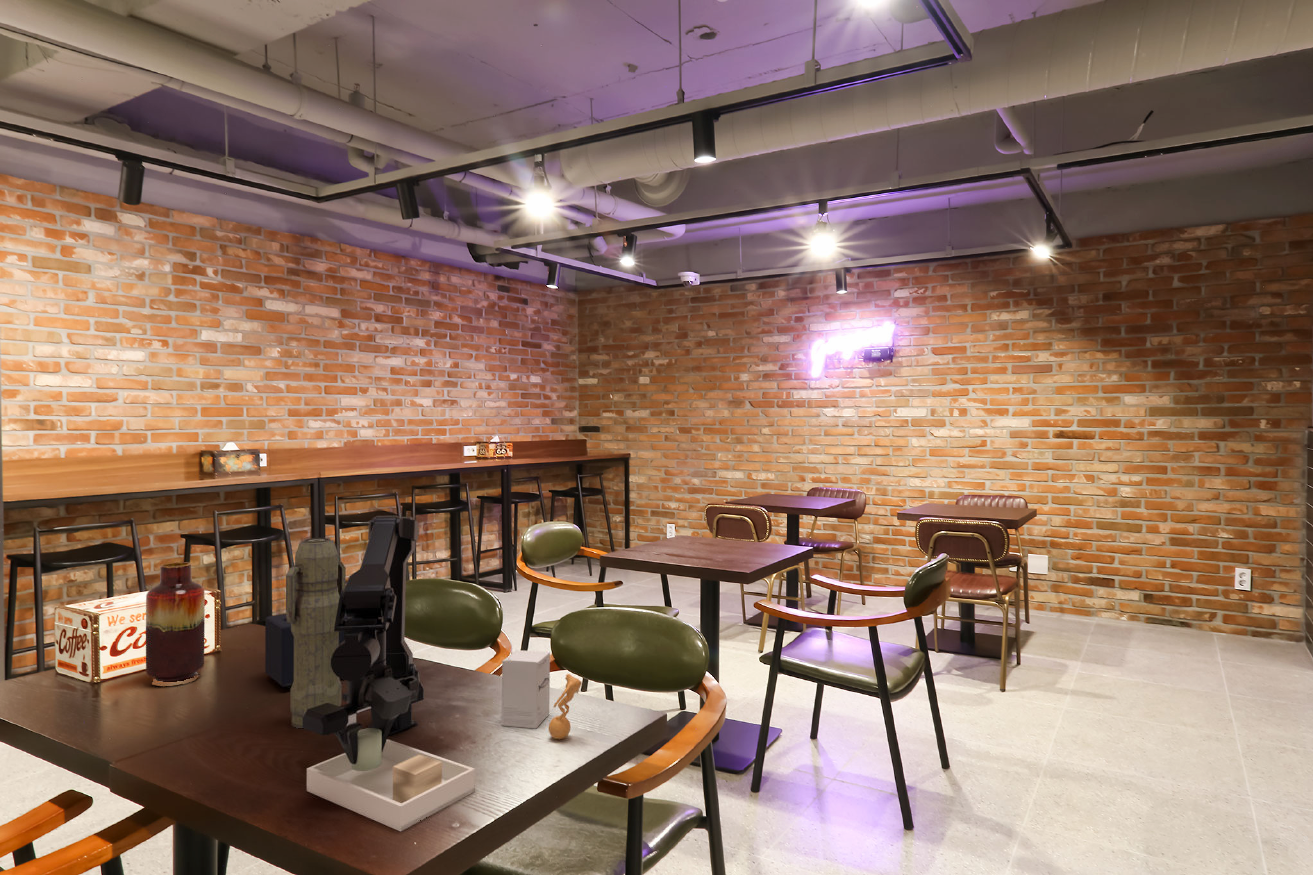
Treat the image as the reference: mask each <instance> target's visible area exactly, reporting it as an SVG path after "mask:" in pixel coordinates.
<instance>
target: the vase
mask: <svg viewBox="0 0 1313 875" xmlns="http://www.w3.org/2000/svg"><path fill="white" fill-rule="evenodd" d="M159 571H160V572H159V573H160V574H159V575H160V576H159V583H158V584H156V585H154V586H152V587H151V588H150V589H149V590H148V591H147V593H146V595H145V672H146V675H148V676H150V677H153V678H155V679H156V680H157V681H163V682H177V681H184V680H186V679H190V678H194V676H197V674H199V673H198V672H197V671H199V670H201V669H202V668H203V667H204V664H205V620H206V619H205V616H206V615H205V614H206V613H205V610H206V609H205V588H204V587H203V586H202V584H200V583H199V582H196V581H193V579H192V563H191V562H185V561H183V562H181V561H179V562H178V561H177V562H168V563H164V564H161V565H160V570H159Z"/></svg>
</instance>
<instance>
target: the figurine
mask: <svg viewBox="0 0 1313 875" xmlns="http://www.w3.org/2000/svg"><path fill="white" fill-rule="evenodd" d="M565 680H566V683H565V688H564V690H563V692H562V694H561V695H560V696H559V697H558V698H557V700H556V701H555V703H554V705H553V708H556V707H558V708H559V710H560V712H561V714H560V715H556V716H555V717H553V718H552V719H550V722H549V724H548V732H549V734H550V736H551V737H552V738H553V739H555V740H563V739H565V738H566V737H567V736H568V735H569V734H570V732H571V727H572V726H571V722H570V720H569V719H568V718H567V717H566V716H567V715H568V714H569V712H570V706H569V704H568V703H570V702H571V701H572V700H573V698H574V696H575V694H578V693H579V690H580V688H581V686H582V681H581V680H580V679H579V678H576V677H574V676H572V675H571V674H570V673H567V674H566V675H565ZM565 694H566V695H565ZM563 706H564V707H563Z"/></svg>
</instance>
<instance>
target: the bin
mask: <svg viewBox="0 0 1313 875" xmlns="http://www.w3.org/2000/svg"><path fill="white" fill-rule="evenodd" d="M417 755H423V756H426V757H428V758H431V759H434V760H437V761H440V762H442V783H441V784H439V785H437V786H435V787H433V788H431V789H429V790H427V791H425V792H423V793H421V794H419V795H417V796H415V797H413V798H411V799H409V800H407V801H405V802H403V803H399V802H397V801H395V800H393V766H395V765H397V764H399V763H402V762H404V761H406V760H408V759H411V758H413V757H415V756H417ZM306 792H309V793H310V794H313V795H315V796H318V797H320V798H322V799H325V800H326V801H329V802H331V803H334V804H336V805H338V806H341V807H343V808H346V809H348V810H350V811H353V812H355V813H357V814H359V815H362V816H364V817H366V818H368V819H370V820H374V821H375V822H377V823H380V824H382V825H384V826H387V827H389V828H392V829H394V830H395V831H398V832H399V833H401V832H402V831H404V830H406V829H408V828H410V827H412V826H414V825H415V824H417V823H420V822H421V821H423V820H425V819H426V817H427V818H429V817H430V816H432V815H434V814H436V813H437V812H440V811H441V810H443V809H446V808H447V807H449V806H450V805H452V804H454V803H456V802H458V801H460V800H462V799H463V798H465V797H468V796H469V795H470V794H471V795H472V793H474V792H476V768H474V767H471V766H468V765H466V764H463V763H459V762H456V761H453V760H450V759H447V758H444V757H441V756H439V755H436V754H432V753H430V752H427V751H424V750H420V749H418V748H414V747H412V746H409V745H406V744H403V743H401V742H400V743H399V742H396V741H394V740H391V739H388V738H387V740H386V743H385V746H384V749H383V752H382V763H381V765H380V766H379V767H377V768H375V769H372V770H368V771H356V770H354V769H352V764H351V763H350V761H349V759H348V757H347V755H346V753H345V752H344V753H341V754H339V755H337V756H334V757H331V758H329V759H327V760H324V761H322V762H319V763H317V764H314V765H312V766H310V767H307V768H306ZM420 820H421V821H420Z"/></svg>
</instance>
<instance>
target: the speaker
mask: <svg viewBox="0 0 1313 875" xmlns="http://www.w3.org/2000/svg"><path fill="white" fill-rule="evenodd" d="M354 619H362V618H354ZM354 619H348V618H347V615H346V613H345V617H344V620H354ZM264 625H265V630H264V631H265V634H264V635H265V638H264V639H265V642H264V643H265V645H264V646H265V651H264V652H265V653H264V656H265V657H264V659H265V662H264V664H265V665H264V666H265V667H264V668H265V669H264V671H265V672H264V673H265V674H266V675H268V676H269V677H270V678H272V679H273V680H274V681H275V682H276V683H277V684H279V685H280V686H281V687H283V688H284V687H286V688H287V689H288V688H291V687H292V684H293V682H294V636H293V634H292V632H291V623H287V619H286V613H284V614H276V615H269V616H266V617H265V624H264ZM344 637H345V631H339V645H340V644H341V643H342V642H343V641H344Z"/></svg>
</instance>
